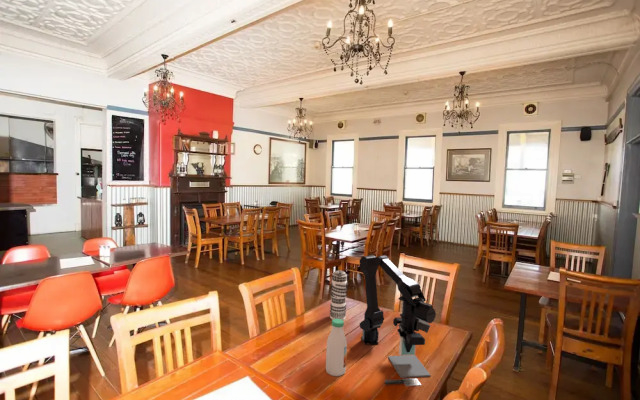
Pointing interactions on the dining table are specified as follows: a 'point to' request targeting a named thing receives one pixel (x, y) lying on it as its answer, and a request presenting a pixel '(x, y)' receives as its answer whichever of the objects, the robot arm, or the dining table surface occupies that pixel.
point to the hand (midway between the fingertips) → (406, 350)
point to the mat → (408, 366)
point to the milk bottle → (336, 349)
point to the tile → (403, 350)
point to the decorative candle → (338, 295)
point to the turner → (404, 382)
